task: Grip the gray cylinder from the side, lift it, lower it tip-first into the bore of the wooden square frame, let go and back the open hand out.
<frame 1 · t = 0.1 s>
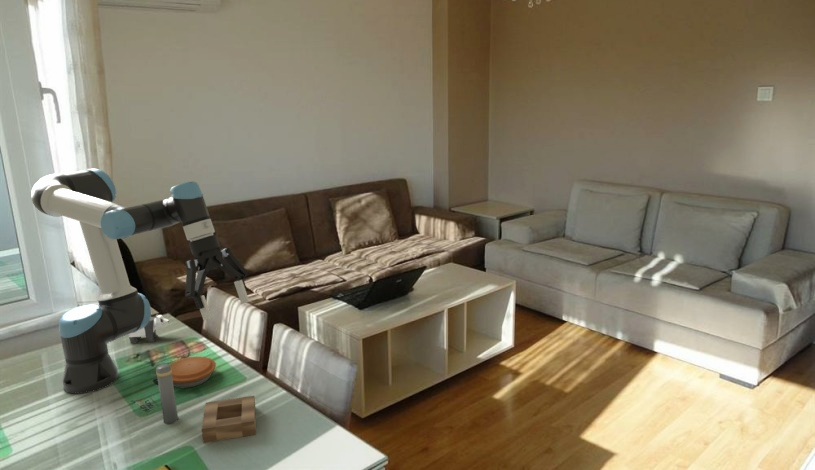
hand: (227, 310, 160), 28 cm above the table, tool tilted 20°, fingers open, 13 cm apart
gray cylinder: (170, 420, 158), on the table
giant panda: (148, 339, 209), on the table
pie: (191, 379, 180), on the table
wooden square frame: (230, 424, 155), on the table
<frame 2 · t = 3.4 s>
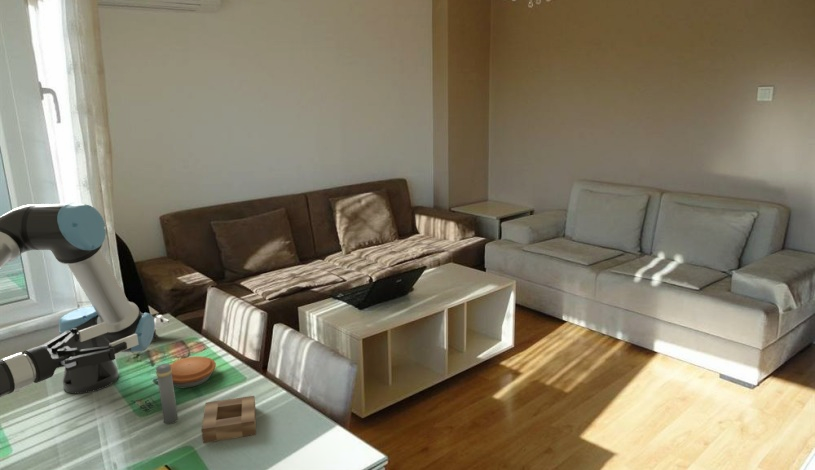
hand: (121, 332, 142), 30 cm above the table, tool horizontal, fingers open, 13 cm apart
nothing on the table moved.
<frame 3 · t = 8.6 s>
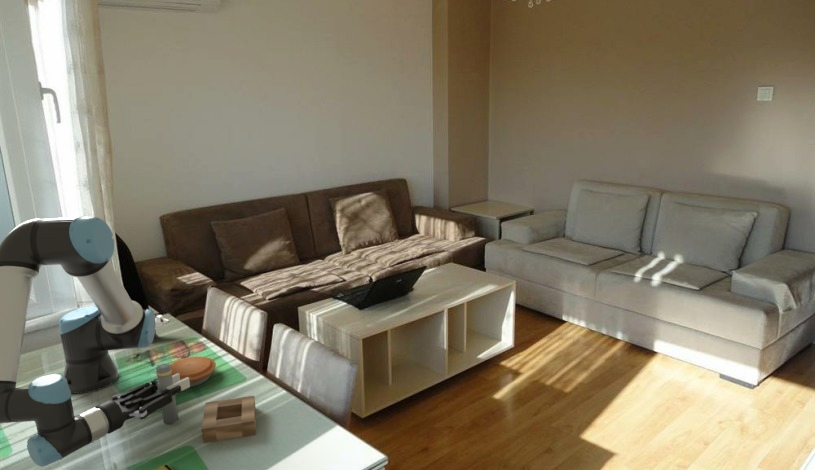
hand: (183, 379, 160), 10 cm above the table, tool horizontal, fingers closed on gray cylinder, 3 cm apart
gray cylinder: (170, 420, 158), on the table, touching gripper
everything else where it was.
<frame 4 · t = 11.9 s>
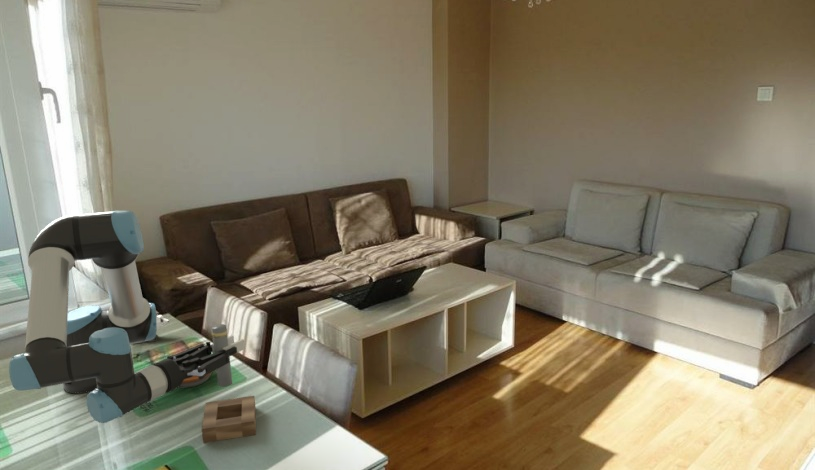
hand: (238, 342, 153), 22 cm above the table, tool horizontal, fingers closed on gray cylinder, 3 cm apart
gray cylinder: (225, 383, 151), point 12 cm above the table, touching gripper
everything else where it was.
when the fingers open (11 cm above the table, at t = 15.2 s): gray cylinder stays where it is, resting in wooden square frame.
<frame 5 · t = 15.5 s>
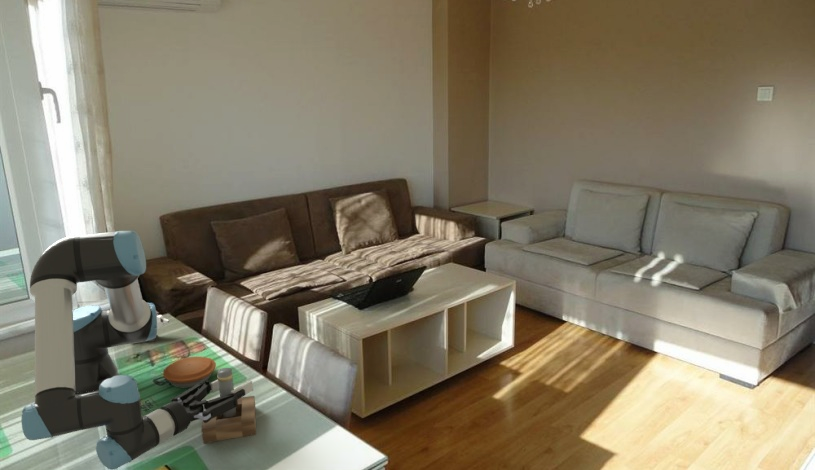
hand: (241, 381, 156), 11 cm above the table, tool horizontal, fingers open, 7 cm apart
gray cylinder: (230, 424, 155), resting in wooden square frame
everything else where it was.
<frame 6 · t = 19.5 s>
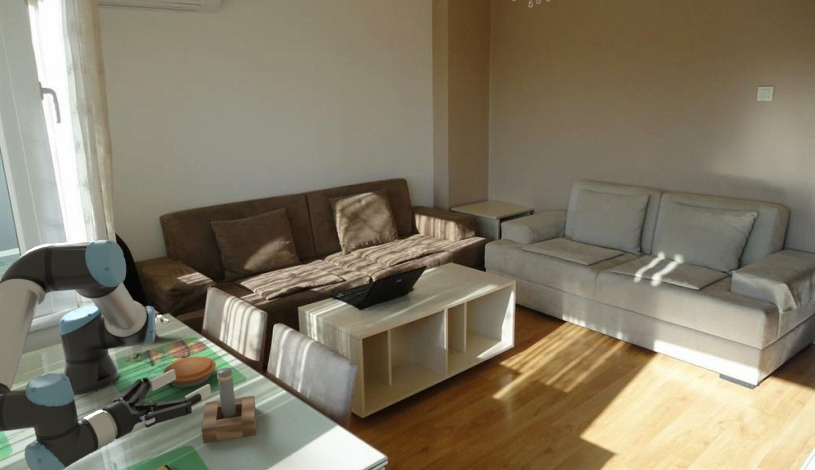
hand: (191, 381, 142), 18 cm above the table, tool horizontal, fingers open, 13 cm apart
nothing on the table moved.
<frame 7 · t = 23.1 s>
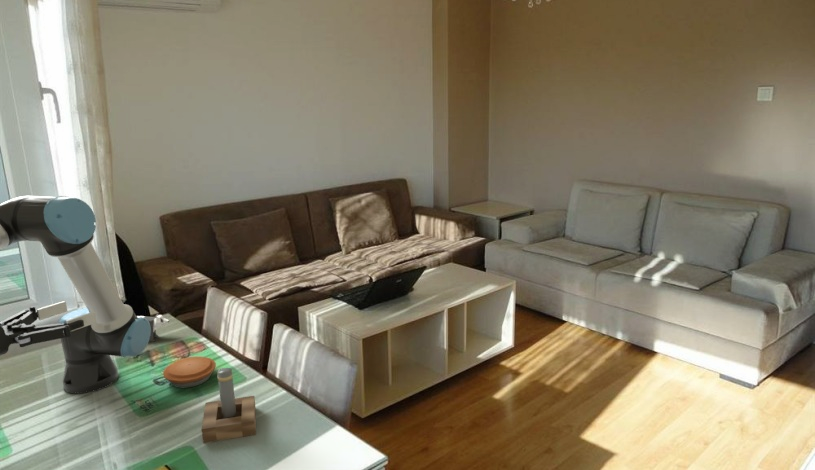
hand: (80, 311, 142), 35 cm above the table, tool horizontal, fingers open, 13 cm apart
nothing on the table moved.
at the end: gray cylinder 0.1 cm off-centre on the wooden square frame, point 0.0 cm above the wooden square frame's base; gray cylinder tilted 0°; the gripper is holding nothing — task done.
